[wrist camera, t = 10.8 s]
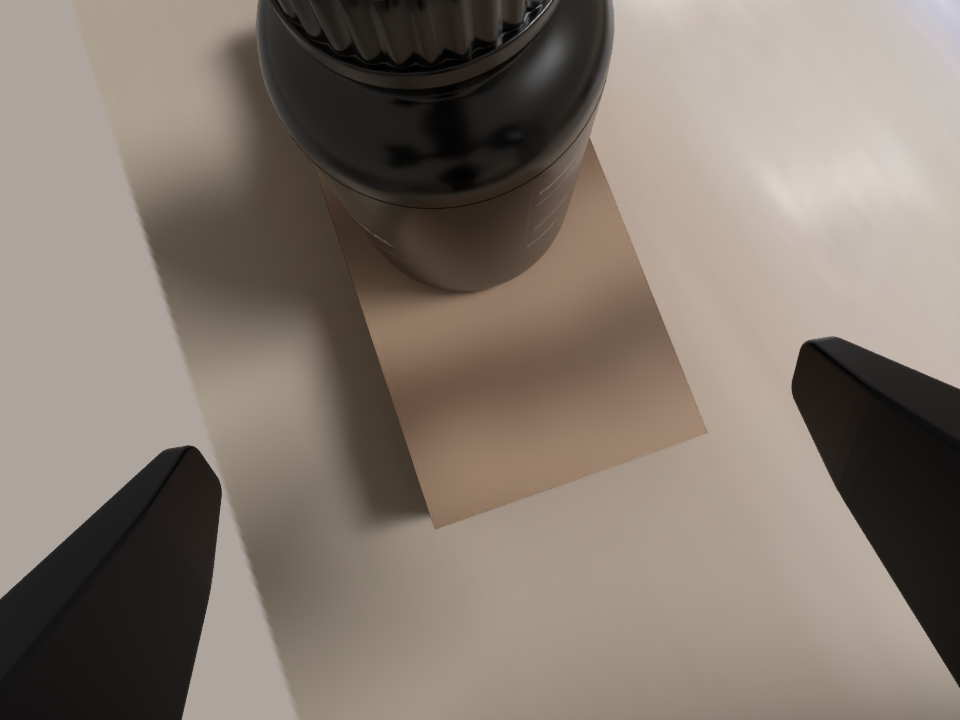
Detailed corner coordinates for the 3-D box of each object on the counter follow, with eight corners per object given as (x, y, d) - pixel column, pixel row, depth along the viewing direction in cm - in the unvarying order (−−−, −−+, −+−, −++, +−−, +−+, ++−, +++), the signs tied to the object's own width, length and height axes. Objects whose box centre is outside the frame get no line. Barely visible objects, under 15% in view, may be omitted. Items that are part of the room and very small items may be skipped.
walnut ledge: (679, 431, 21) (707, 433, 18) (445, 514, 21) (435, 529, 18) (494, -38, 23) (492, -106, 20) (286, 38, 23) (253, -19, 20)
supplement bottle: (336, 263, 19) (38, -9, 7) (402, 77, 20) (231, -462, 8) (534, 325, 18) (575, 139, 6) (596, 131, 19) (738, -366, 7)
